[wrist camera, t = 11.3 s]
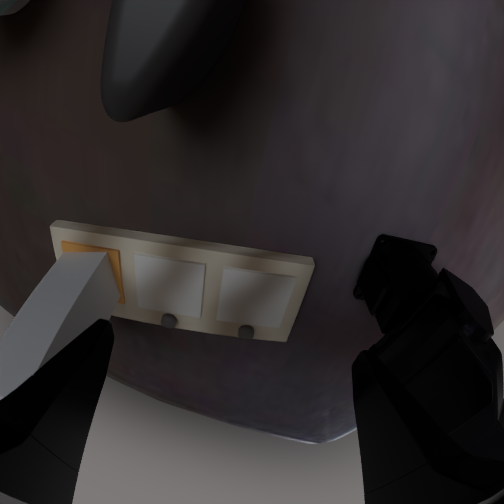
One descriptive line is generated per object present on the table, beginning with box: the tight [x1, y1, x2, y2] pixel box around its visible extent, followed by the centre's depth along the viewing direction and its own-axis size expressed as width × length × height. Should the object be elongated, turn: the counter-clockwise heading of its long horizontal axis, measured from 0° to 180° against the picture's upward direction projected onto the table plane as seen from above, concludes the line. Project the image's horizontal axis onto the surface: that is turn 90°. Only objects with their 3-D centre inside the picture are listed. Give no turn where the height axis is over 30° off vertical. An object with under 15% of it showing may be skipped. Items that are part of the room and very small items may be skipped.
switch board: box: [50, 220, 315, 342], centre depth 24 cm, size 22×9×2 cm, turn 80°
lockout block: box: [0, 252, 121, 400], centre depth 16 cm, size 4×4×14 cm
